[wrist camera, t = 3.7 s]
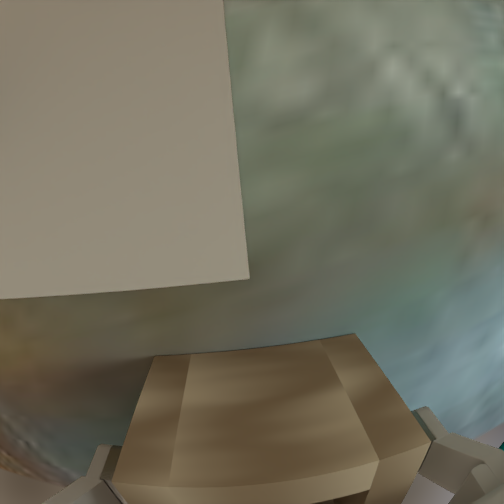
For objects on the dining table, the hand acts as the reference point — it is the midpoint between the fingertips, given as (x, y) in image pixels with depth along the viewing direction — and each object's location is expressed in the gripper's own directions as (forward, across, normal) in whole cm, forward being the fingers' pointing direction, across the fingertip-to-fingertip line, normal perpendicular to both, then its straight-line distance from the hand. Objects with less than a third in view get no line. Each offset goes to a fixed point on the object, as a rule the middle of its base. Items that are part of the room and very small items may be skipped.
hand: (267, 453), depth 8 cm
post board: (+2, +8, -12) cm, 15 cm away
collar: (+2, 0, 0) cm, 2 cm away
